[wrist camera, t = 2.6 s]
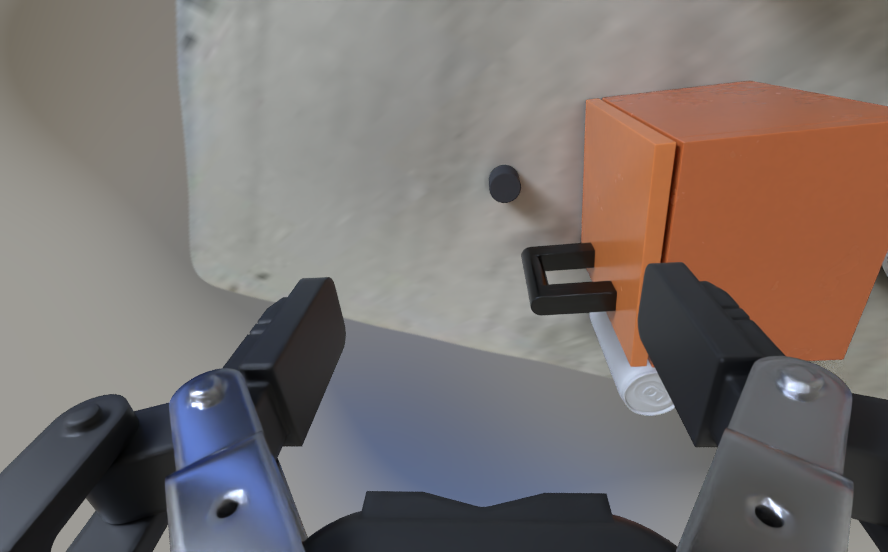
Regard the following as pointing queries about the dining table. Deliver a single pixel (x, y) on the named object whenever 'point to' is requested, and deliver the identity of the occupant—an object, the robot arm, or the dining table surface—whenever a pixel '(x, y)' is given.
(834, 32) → the dining table surface
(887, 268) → the milk container
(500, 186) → the cylinder
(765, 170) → the cabinet
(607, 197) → the cabinet door
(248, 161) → the dining table surface
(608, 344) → the beverage can
